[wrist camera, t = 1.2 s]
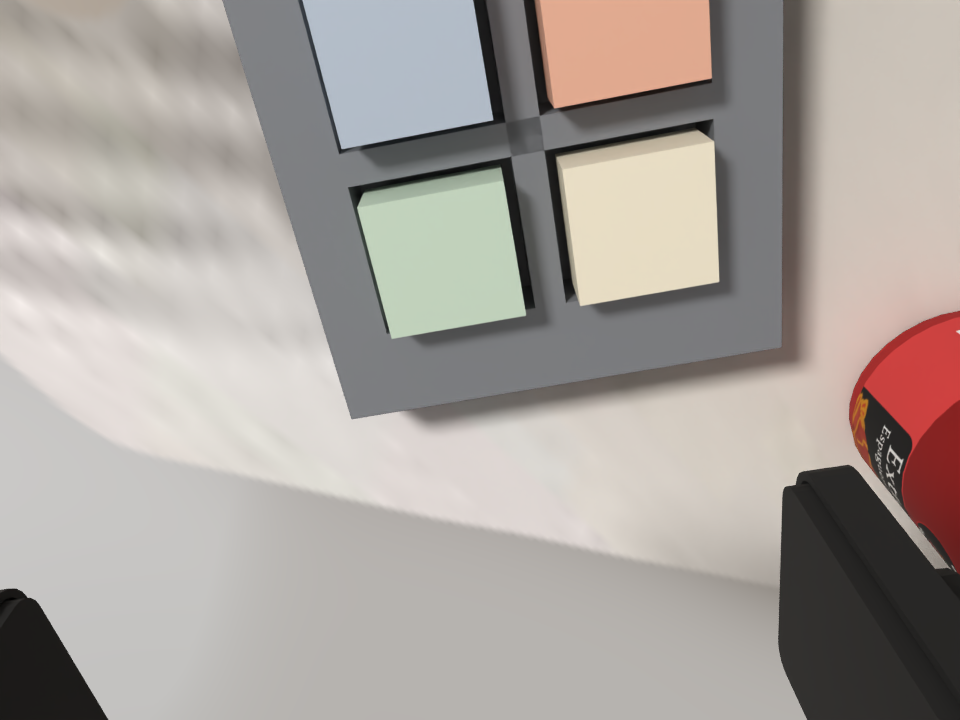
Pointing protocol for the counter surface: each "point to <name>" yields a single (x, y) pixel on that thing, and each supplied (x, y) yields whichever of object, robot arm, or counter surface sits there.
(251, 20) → the keypad
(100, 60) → the counter surface
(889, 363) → the canned food
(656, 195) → the sand key
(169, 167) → the counter surface
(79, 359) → the counter surface
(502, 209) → the sage key
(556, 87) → the terracotta key
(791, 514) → the robot arm
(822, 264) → the counter surface
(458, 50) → the slate key
